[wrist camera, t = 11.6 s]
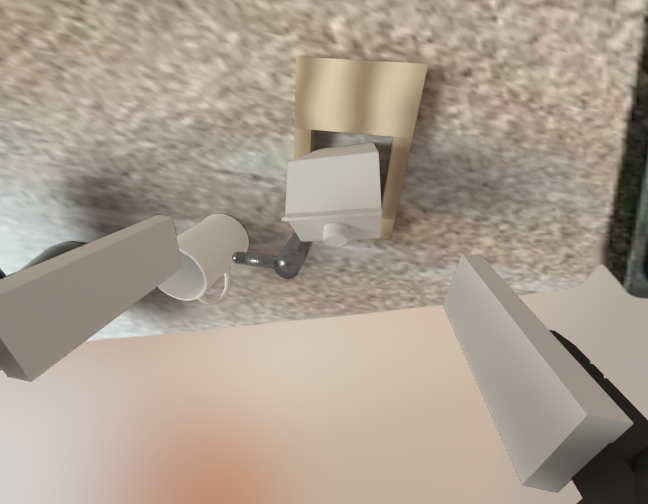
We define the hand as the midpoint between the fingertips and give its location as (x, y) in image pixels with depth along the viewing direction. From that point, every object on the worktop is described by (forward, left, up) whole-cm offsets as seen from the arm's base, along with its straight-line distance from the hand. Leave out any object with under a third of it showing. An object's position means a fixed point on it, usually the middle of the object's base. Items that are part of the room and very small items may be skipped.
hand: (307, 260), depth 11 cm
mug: (-19, -14, -26) cm, 35 cm away
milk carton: (0, 0, -26) cm, 26 cm away
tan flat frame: (0, +2, -26) cm, 26 cm away
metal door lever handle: (-5, -6, -25) cm, 27 cm away
